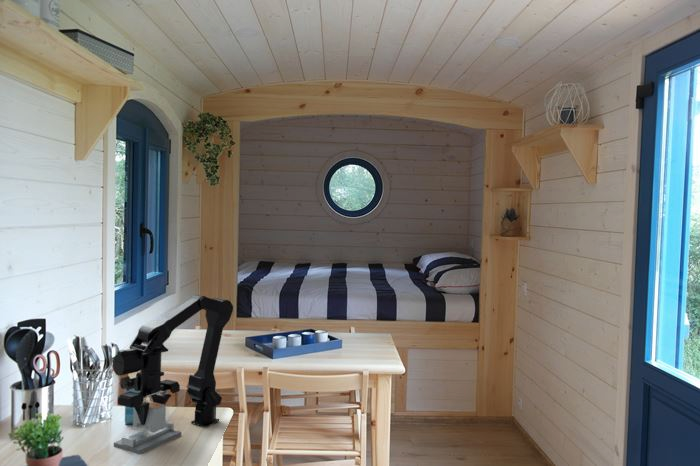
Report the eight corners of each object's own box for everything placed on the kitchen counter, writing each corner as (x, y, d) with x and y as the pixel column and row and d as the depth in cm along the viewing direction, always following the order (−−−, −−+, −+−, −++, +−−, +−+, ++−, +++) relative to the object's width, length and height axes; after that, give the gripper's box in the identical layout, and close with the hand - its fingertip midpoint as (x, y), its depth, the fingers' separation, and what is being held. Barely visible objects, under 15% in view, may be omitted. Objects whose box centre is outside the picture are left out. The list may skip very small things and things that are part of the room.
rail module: (144, 422, 172) (145, 399, 172) (165, 427, 168) (165, 404, 168) (133, 427, 168) (133, 403, 168) (153, 432, 164) (154, 408, 164)
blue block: (139, 424, 180) (140, 386, 180) (124, 425, 179) (125, 386, 179) (145, 411, 192) (146, 375, 191) (130, 412, 191) (131, 376, 190)
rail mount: (156, 428, 177) (156, 418, 177) (181, 435, 173) (181, 425, 173) (113, 446, 163) (114, 435, 163) (139, 453, 159) (140, 442, 158)
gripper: (154, 358, 179) (152, 408, 180) (104, 371, 163) (103, 426, 163) (181, 363, 174) (180, 414, 175) (133, 377, 158) (131, 434, 158)
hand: (149, 422), depth 168 cm, fingers closed on rail module, 4 cm apart
